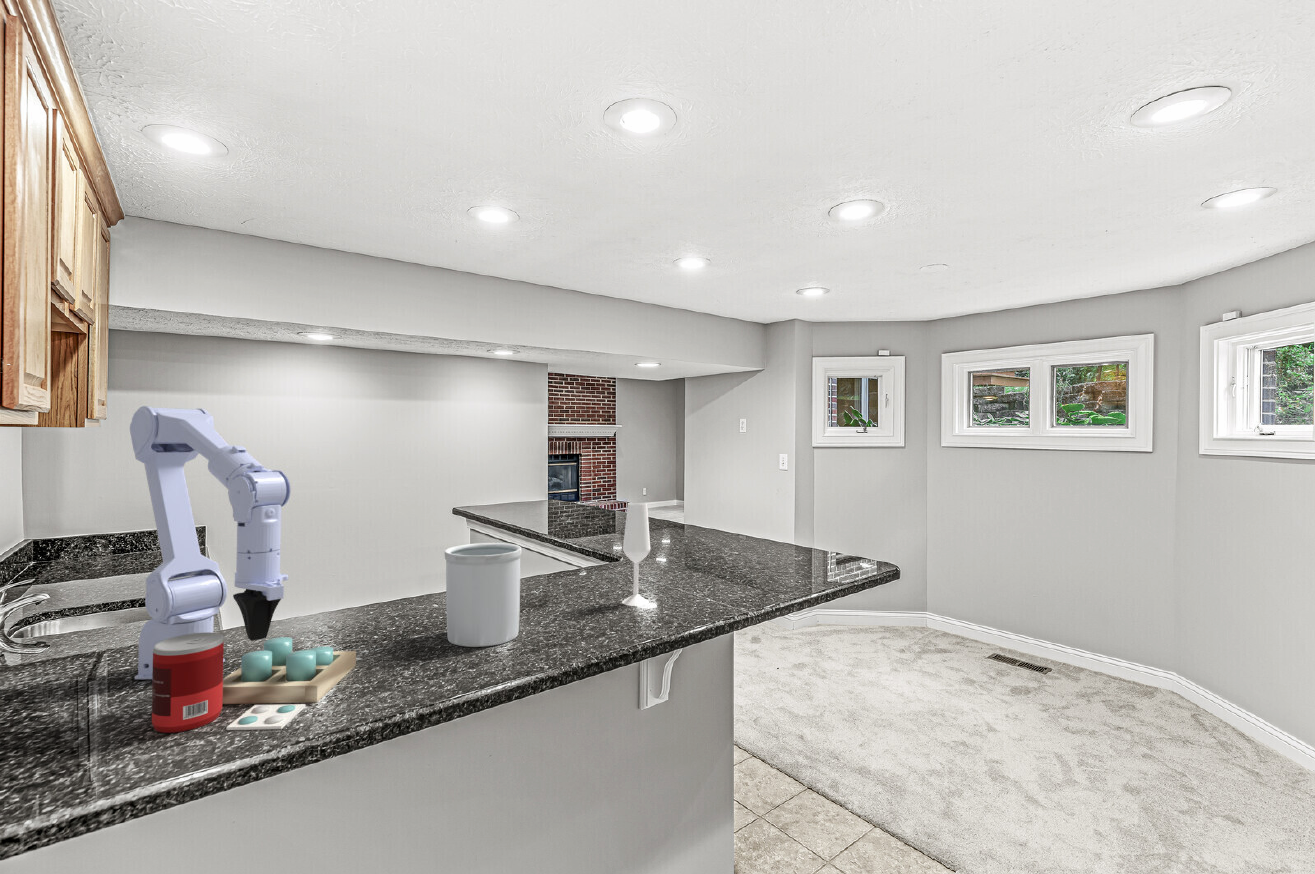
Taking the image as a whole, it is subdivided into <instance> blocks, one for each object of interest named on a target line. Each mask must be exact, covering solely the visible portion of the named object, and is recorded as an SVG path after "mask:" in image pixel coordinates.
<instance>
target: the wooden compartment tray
mask: <svg viewBox="0 0 1315 874" xmlns="http://www.w3.org/2000/svg"><path fill="white" fill-rule="evenodd" d="M356 666H357V651H356V650H346V651H345V650H342V651H341V650H339V651H337V650H335V651H334V650H333V662H332V663H331V664H330V665H327V666H316V675H315V677H314V678H312V679H309V680H306V681H286V665H283V666H272V676H271V677H270V678H269V679H266V680H263V681H260V682H242V681H241V667H239V668H237V669H236V670H235V671H232V672H231V673H230V674H228V675H227V676H225V677H223V698H222V705H237V704H239V705H240V704H241V705H243V704H246V705H247V704H292V703H293V704H299V703H300V704H306V703H307V704H309V703H318V702H319V701H320V700H321V699H322V698H323V697H324V696H326V695H327V693H328V692H330V690H332V689H333V688H334V687H335V686H336V685H337V684H338V683H339V682H340V681H341V680H342V679H343V678H344V677H345V676H347V675H348V673H350V672H351V671H352V670H353V669H354V668H355V667H356Z"/></svg>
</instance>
